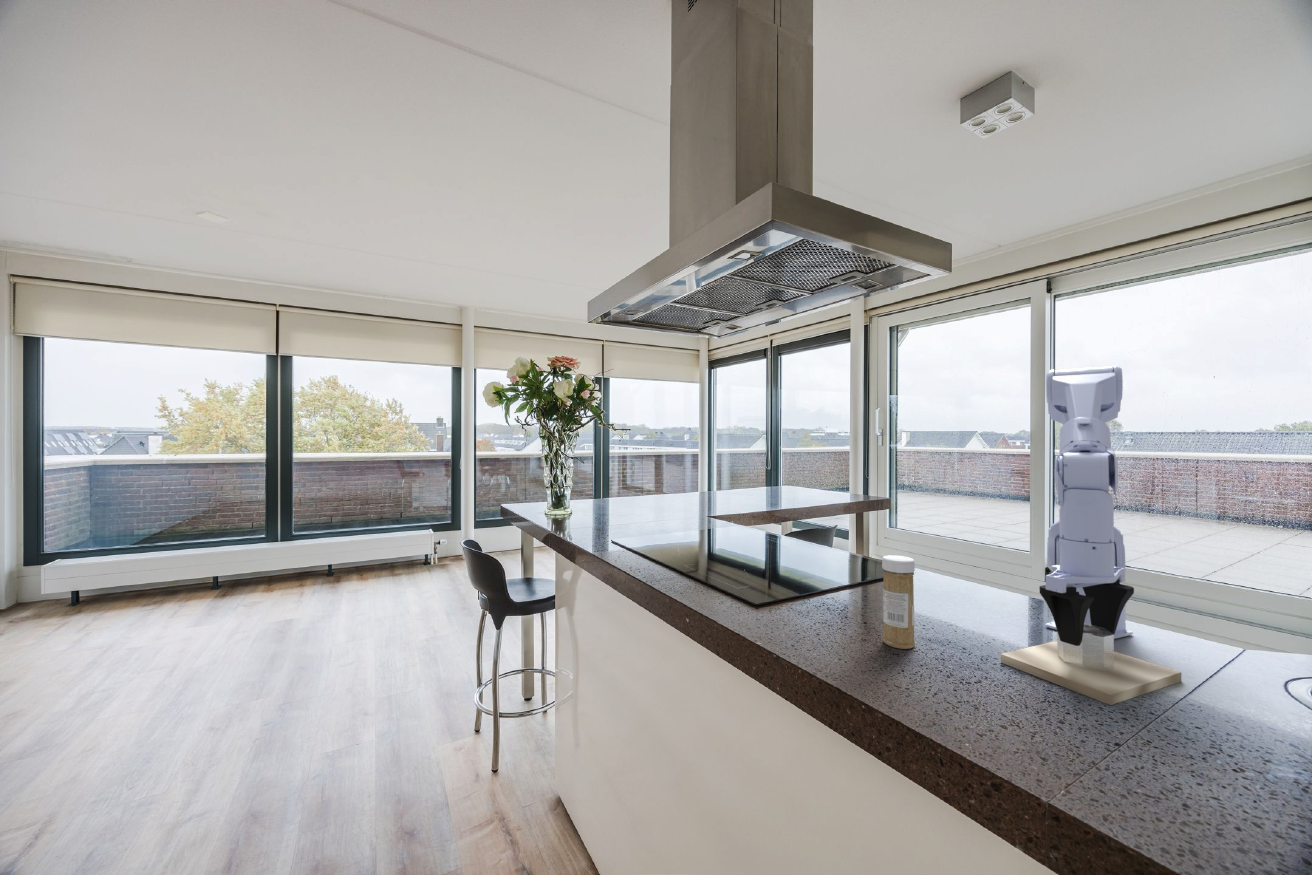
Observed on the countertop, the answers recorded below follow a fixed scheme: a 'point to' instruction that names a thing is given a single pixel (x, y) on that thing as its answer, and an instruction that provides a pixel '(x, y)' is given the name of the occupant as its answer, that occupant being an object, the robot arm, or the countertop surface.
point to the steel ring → (1089, 650)
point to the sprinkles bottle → (898, 601)
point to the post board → (1093, 673)
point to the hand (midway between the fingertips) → (1087, 639)
